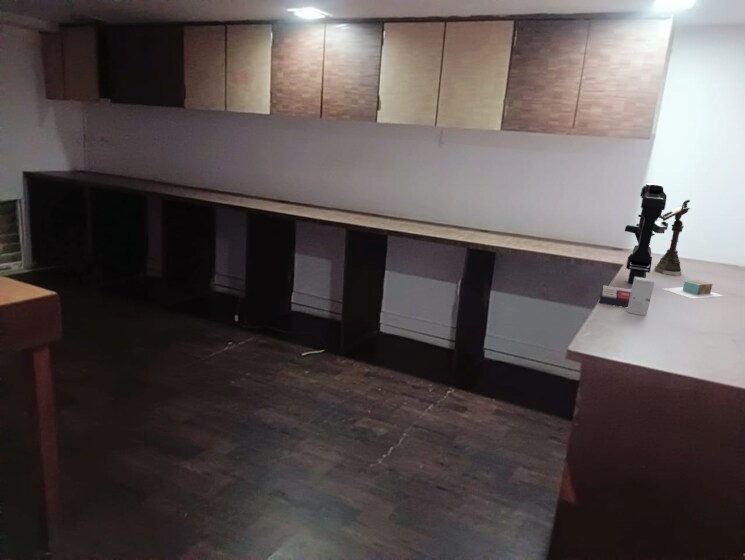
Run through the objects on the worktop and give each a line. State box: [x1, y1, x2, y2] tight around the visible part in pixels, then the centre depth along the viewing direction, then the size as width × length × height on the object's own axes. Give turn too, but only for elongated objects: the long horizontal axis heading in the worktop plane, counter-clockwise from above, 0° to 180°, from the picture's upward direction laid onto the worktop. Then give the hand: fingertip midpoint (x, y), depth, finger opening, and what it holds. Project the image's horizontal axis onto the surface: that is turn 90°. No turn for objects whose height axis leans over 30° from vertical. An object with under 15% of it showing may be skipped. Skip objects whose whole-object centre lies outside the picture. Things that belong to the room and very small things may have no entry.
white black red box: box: [599, 285, 632, 308], centre depth 210 cm, size 11×4×15 cm
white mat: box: [662, 286, 724, 300], centre depth 231 cm, size 20×14×1 cm
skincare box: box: [626, 277, 655, 316], centre depth 195 cm, size 6×4×12 cm
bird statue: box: [654, 199, 691, 276], centre depth 265 cm, size 17×13×35 cm
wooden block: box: [682, 279, 713, 295], centre depth 232 cm, size 4×6×9 cm
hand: (641, 248), depth 249 cm, fingers closed
